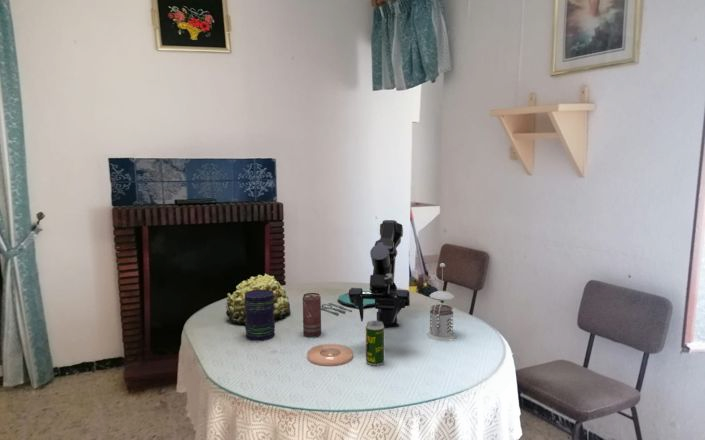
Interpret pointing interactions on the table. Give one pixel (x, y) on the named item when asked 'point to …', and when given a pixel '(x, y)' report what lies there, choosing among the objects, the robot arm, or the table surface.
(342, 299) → the cutlery set
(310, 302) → the can
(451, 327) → the french press
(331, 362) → the saucer
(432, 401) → the table surface
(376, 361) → the beer can
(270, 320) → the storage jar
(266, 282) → the cauliflower
